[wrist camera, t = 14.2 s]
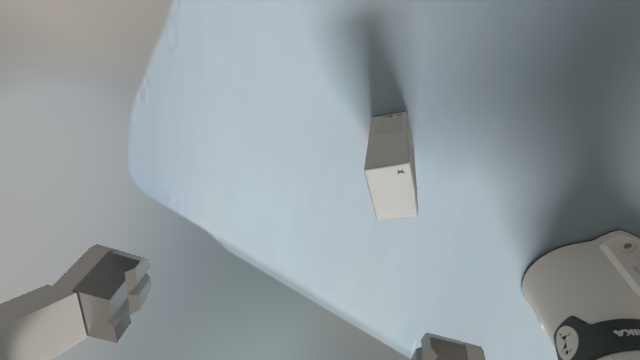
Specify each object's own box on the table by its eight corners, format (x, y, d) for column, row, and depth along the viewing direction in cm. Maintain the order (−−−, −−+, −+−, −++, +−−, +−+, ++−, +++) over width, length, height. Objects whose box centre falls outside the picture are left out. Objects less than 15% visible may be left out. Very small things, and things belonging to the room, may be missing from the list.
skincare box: (370, 116, 45) (362, 168, 35) (407, 109, 44) (410, 161, 34) (379, 162, 48) (375, 221, 38) (415, 156, 47) (420, 216, 37)
